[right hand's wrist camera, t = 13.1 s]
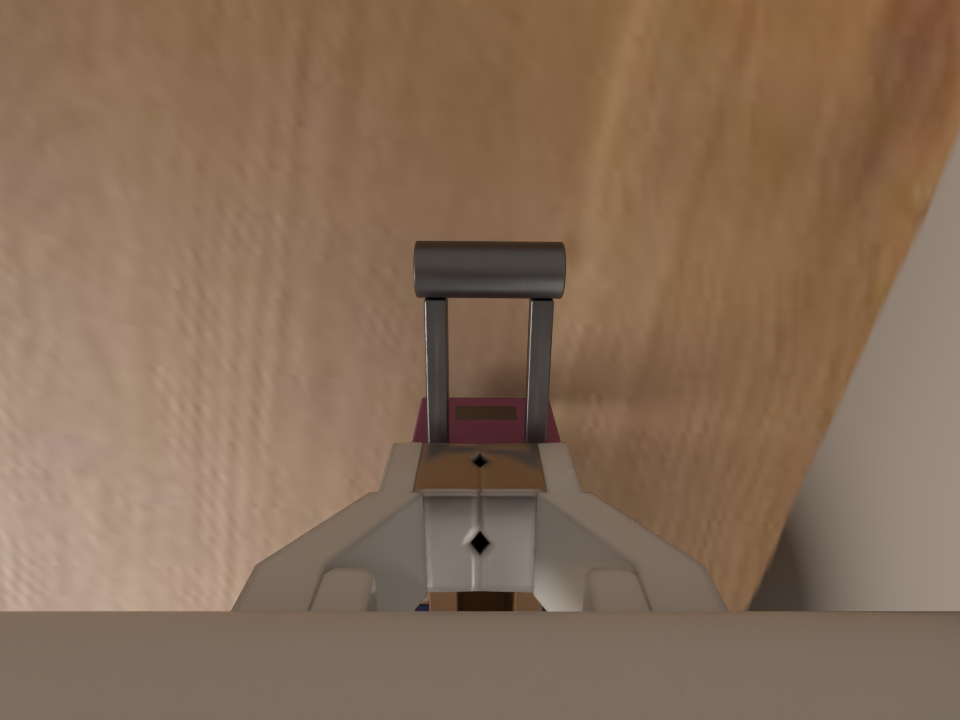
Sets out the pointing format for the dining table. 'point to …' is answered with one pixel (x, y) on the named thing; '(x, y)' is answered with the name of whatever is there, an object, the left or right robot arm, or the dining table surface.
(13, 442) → the dining table surface
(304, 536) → the right robot arm
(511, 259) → the drawer
